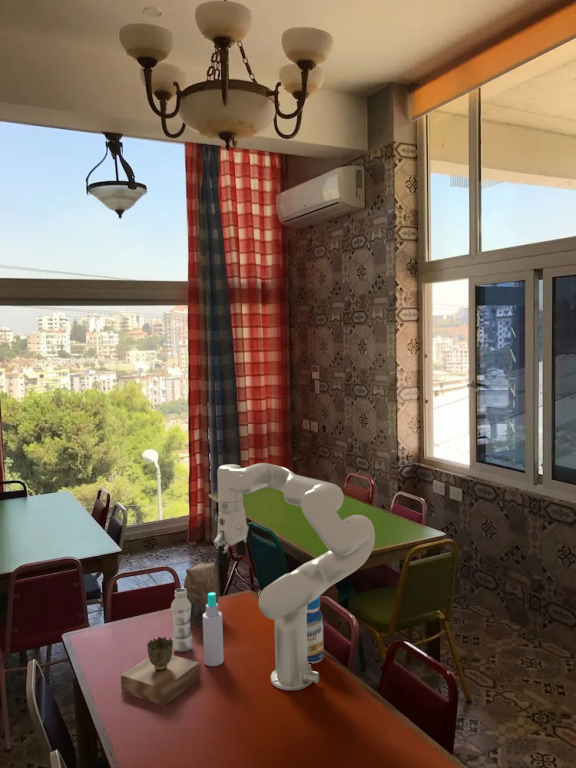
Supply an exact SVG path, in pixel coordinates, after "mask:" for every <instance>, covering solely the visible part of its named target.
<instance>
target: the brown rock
mask: <svg viewBox="0 0 576 768" xmlns="http://www.w3.org/2000/svg"><path fill="white" fill-rule="evenodd" d="M217 568H218V566H217V562H215V561H213V562H200V563H197V564H196V565H193V566H192V567H189V568H186V570H185V573H186V576H185V578H184V580H183V581H184V582H183V583H184V584H183V588H185V589H186V593H187V596H186V597H187V598H188V600H189V601H190V603H191V614H190V626H197V627H196V628H203V614H204V613H205V612H206V604H208V593H211V592H214V593H216V603H217V604H218V605H219V593H218V584H219V583H218V582H219V581H218V572H217ZM200 626H201V627H200Z"/></svg>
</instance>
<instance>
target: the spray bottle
mask: <svg viewBox="0 0 576 768" xmlns="http://www.w3.org/2000/svg"><path fill="white" fill-rule="evenodd" d="M223 630H224V627H223V614H222V612H221V611H219V603H218V604H217V603H216V593H214V592H211V593H208V604H206V612H205V613H204V614H203V627H202V633H203V635H202V638H203V639H202V640H203V659H204V660H203V661H204V662H203V663H204V664H205V665H206V666H209V667H217V666H220V665H222V664H223V663H224V637H223V635H224V633H223Z"/></svg>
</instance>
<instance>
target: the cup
mask: <svg viewBox="0 0 576 768" xmlns="http://www.w3.org/2000/svg"><path fill="white" fill-rule="evenodd" d="M146 646H147V647H146V648H147V654H148V657H149V659H150V662H151V663H152V664H153V665H154V666H155V669H156V670H157V671H163V670H165V669H166V668H167V664H168V663H169V662H170V660H171V657H172V655H173V639H172V638H171V637H170V638H169V639H167V637H165V636H164V637H161V636H158V637H157V639H156V638H153V640H152V639H151V640H149V641H148V643H146Z"/></svg>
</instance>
